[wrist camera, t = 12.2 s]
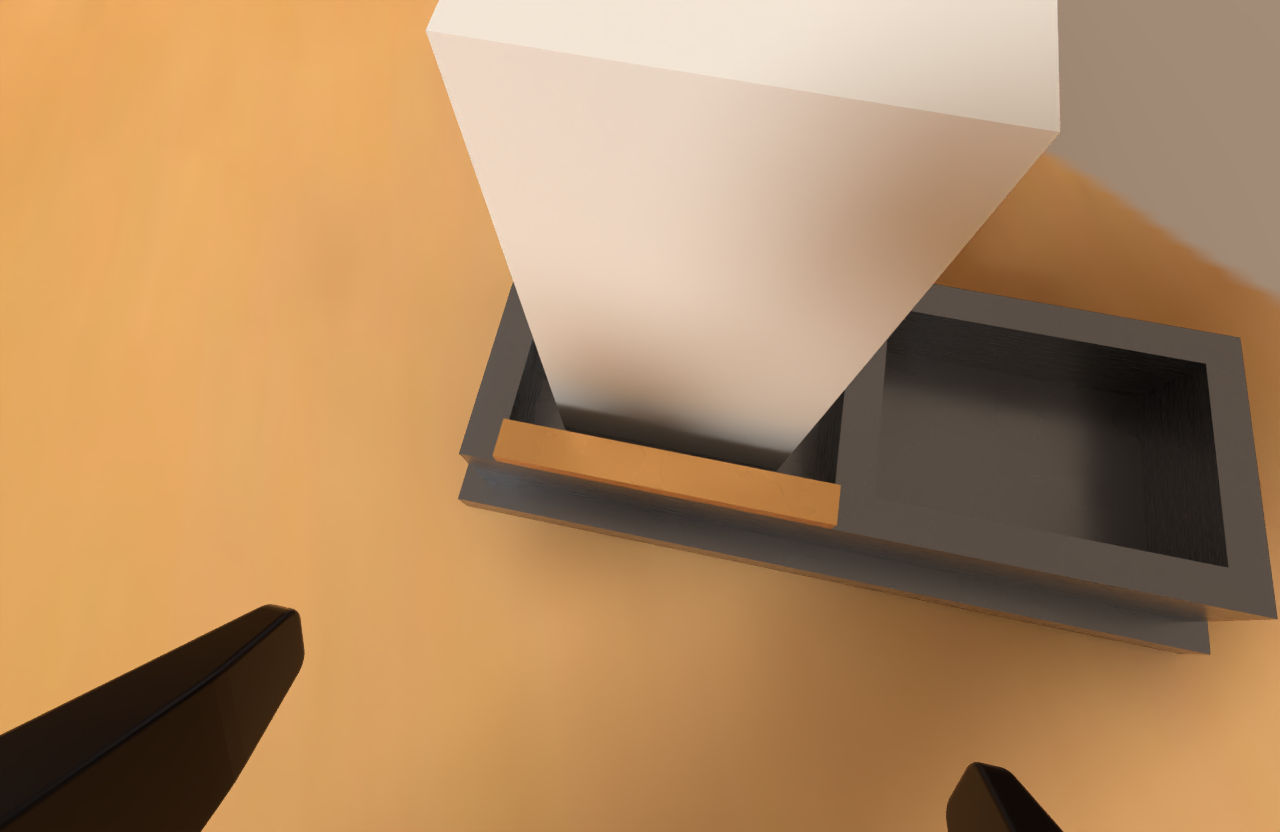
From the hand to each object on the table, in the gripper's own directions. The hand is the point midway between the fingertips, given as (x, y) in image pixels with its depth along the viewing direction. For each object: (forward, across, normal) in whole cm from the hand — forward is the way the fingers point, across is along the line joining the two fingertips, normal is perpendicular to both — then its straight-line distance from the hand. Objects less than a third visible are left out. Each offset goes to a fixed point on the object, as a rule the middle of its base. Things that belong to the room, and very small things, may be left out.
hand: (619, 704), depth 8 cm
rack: (+13, -5, +1) cm, 13 cm away
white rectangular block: (+12, 0, 0) cm, 12 cm away
